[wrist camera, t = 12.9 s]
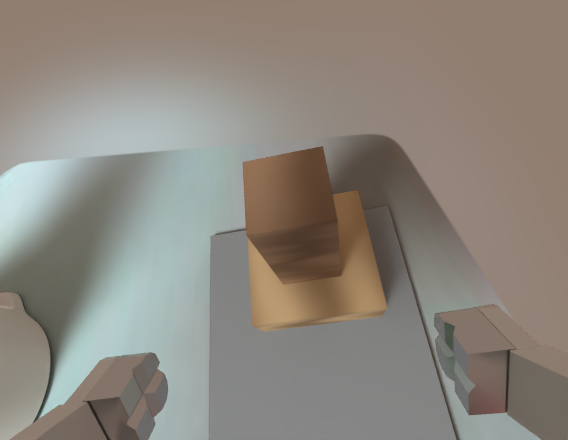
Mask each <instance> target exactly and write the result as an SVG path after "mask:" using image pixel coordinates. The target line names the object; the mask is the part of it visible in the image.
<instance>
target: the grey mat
mask: <svg viewBox="0 0 568 440" xmlns="http://www.w3.org/2000/svg"><path fill="white" fill-rule="evenodd" d="M363 211H364V215H365V219H366V223H367V228H368V232H369V236H370V240H371V244H372V248H373V252H374V256H375V260H376V264H377V268H378V272H379V276H380V280H381V284H382V288H383V292H384V296H385V300H386V304H387V309H386V311H385V312H384V314H383V315H382V316H381V317H374V318H366V319H358V320H351V321H343V322H335V323H328V324H320V325H312V326H305V327H297V328H289V329H282V330H274V331H266V332H264V331H262V330H260V329H257V328H255V327H253V326H252V318H251V298H250V278H249V258H248V238H247V236H246V230H243V231H237V232H232V233H226V234H220V235H214V236H211V253H210V360H209V440H456V436H455V433H454V430H453V426H452V423H451V419H450V416H449V412H448V409H447V406H446V402H445V399H444V395H443V392H442V388H441V385H440V382H439V378H438V375H437V371H436V368H435V365H434V361H433V358H432V354H431V351H430V347H429V344H428V341H427V337H426V334H425V330H424V327H423V323H422V320H421V317H420V313H419V310H418V306H417V303H416V300H415V296H414V293H413V289H412V286H411V282H410V279H409V276H408V272H407V269H406V265H405V262H404V259H403V255H402V252H401V248H400V245H399V241H398V238H397V235H396V231H395V228H394V224H393V221H392V217H391V214H390V211H389V207H388V206H383V207H377V208H371V209H365V210H363Z"/></svg>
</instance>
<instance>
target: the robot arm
mask: <svg viewBox="0 0 568 440" xmlns="http://www.w3.org/2000/svg"><path fill="white" fill-rule="evenodd" d="M434 326H435V328H436V329H437V331H438V333H439V335H438V336H437V338H436V339H435V343H436V351H437V355H438V359H439V362H440V364H441V367H442V369H443V371H444V372H445V374H446V376H447V377H448V378H450V379H452V380H453V381H455V392H456V394H457V395H458V397H459V399H460V401H461V402H462V404H463V406H464V408H465V409H466V411H467V413H468V414H469V415H479V414H493V413H507V415H509V416H510V417H512V418H513V419H514V420H516V421H517V422H518V423H520V424H521V425H522V426H524V427H525V428H526V429H528V430H529V431H531V432H532V433H533V434H535V435H536V436H537V437H539V438H540V439H541V440H568V354H567V353H565V352H562V351H560V350H557V349H555V348H553V347H550V346H540V345H539V344H538V343H537V342H536V341H535V340H534V339H533V338H532V337H531V336H530V335H528V333H526V332H525V331H524V330H523V329H522V328H521V327H520V326H519V325H518V324H517V323H516V322H515V321H514V320H513V319H512V318H510V317H509V316H508V315H507V314H506V313H505V312H504V311H503V310H502V309H501V308H500V307H499V306H497V305H494V304H491V305H485V306H479V307H474V308H470V309H463V310H456V311H449V312H442V313H435V316H434ZM159 363H160V362H159V360H158V358H157V356H156V354H155V353H151V352H149V353H140V354H131V355H122V356H115V357H107V358H104V359H102V360H100V361H99V363H98V364H97V365H96V366H95V367H94V369H93V370H92V371H91V372H90V374H89V375H88V376H87V377H86V378H85V380H84V381H83V382H82V383H81V385H80V386H79V387H78V388H77V389H76V391H75V392H74V393H73V394H72V396H71V397H70V398H69V399H68V400H67V402H66V403H65V404H64V405H59V406H57V407H56V408H54V409H53V410H51V411H50V412H48V413H47V414H45V415H44V416H43V417H41V418H40V419H38V420H37V421H35V422H34V423H33V421H34V420H35V418H36V416H37V413H38V411H39V409H40V407H41V404H42V402H43V399H44V396H45V392H46V389H47V385H48V380H49V374H50V348H49V343H48V340H47V337H46V335H45V333H44V331H43V329H42V328H41V326H40V325H39V324H38V323H37V322H36V321H35V320H33V319H32V318H31V317H30V316H28V315H27V313H26V312H25V310H24V307H23V303H22V301H21V298H20V296H19V295H18V294H17V293H12V292H2V293H0V440H148V439H149V437H150V435H151V433H152V431H153V428H154V426H155V420H154V417H155V416H156V415H157V414H158V413H159V412H160V411H161V410H162V409H163V407H164V404H165V402H166V400H167V393H168V384H167V379H166V377H165V374H163V373H162V372H161V371H159V370H158V369H157V368H158V366H159Z"/></svg>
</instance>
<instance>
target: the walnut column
mask: <svg viewBox="0 0 568 440" xmlns="http://www.w3.org/2000/svg"><path fill="white" fill-rule="evenodd" d="M243 178H244V198H245V219H246V236H247V237H248V238H249V240H250V241H251V242H252V244H253V245H254V246H255V248H256V249H257V250H258V252H259V253H260V254H261V256H262V257H263V258H264V260H265V261H266V262H267V264H268V265H269V266H270V268H271V269H272V270H273V272H274V273H275V274H276V276H277V277H278V278H279V280H280V281H281V282H282V284H283V285H285V284H292V283H298V282H305V281H312V280H319V279H325V278H332V277H339V276H341V269H340V252H339V235H338V219H337V214H336V209H335V204H334V199H333V194H332V189H331V185H330V180H329V175H328V170H327V165H326V160H325V155H324V150H323V146H322V147H317V148H312V149H306V150H301V151H296V152H291V153H286V154H281V155H276V156H271V157H266V158H261V159H256V160H251V161H246V162H243Z"/></svg>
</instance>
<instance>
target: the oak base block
mask: <svg viewBox="0 0 568 440" xmlns="http://www.w3.org/2000/svg"><path fill="white" fill-rule="evenodd" d="M333 199H334V204H335V209H336V214H337V219H338V235H339V252H340V269H341V276H339V277H332V278H325V279H319V280H312V281H305V282H298V283H292V284H285V285H283V284H282V282H281V281H280V280H279V278H278V277H277V276H276V274H275V273H274V272H273V270H272V269H271V268H270V266H269V265H268V264H267V262H266V261H265V260H264V258H263V257H262V256H261V254H260V253H259V252H258V250H257V249H256V248H255V246H254V245H253V244H252V242H251V241H250V240H249V238H248V237H247V238H248V258H249V278H250V298H251V318H252V326H253V327H255V328H257V329H260V330H262V331H264V332H266V331H274V330H282V329H289V328H297V327H305V326H312V325H320V324H328V323H335V322H343V321H351V320H358V319H366V318H374V317H381V316H382V315H383V314H384V312H385V311H386V309H387V304H386V300H385V296H384V292H383V288H382V284H381V280H380V276H379V272H378V268H377V264H376V260H375V256H374V252H373V248H372V244H371V240H370V236H369V232H368V228H367V223H366V219H365V215H364V211H363V207H362V203H361V199H360V195H359V191H358V190H354V191H349V192H343V193H338V194H333Z"/></svg>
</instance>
